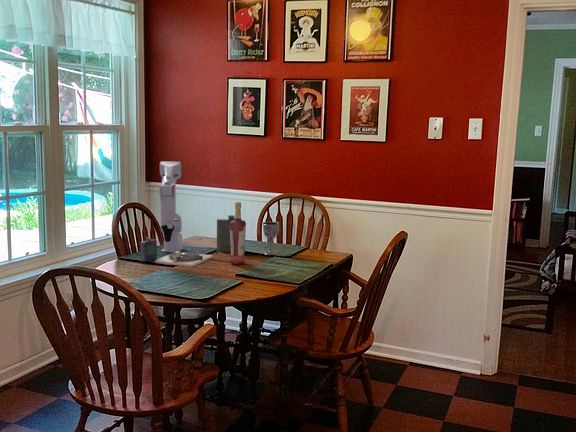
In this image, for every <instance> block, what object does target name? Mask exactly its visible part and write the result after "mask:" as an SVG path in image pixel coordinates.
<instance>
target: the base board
mask: <svg viewBox="0 0 576 432" xmlns="http://www.w3.org/2000/svg"><path fill="white" fill-rule="evenodd" d="M175 253H176V252H175ZM171 254H173V253H172V252H171ZM198 254H199V255H200V256H199V258H198V259H196V260H190V261H177V262H175V261H173V260H172V259H170V258H169V255H170V254H168V255H165V256H162V257H160V258H156V259H154V263H156V264H163V265H172V266H173V265H174V266H180V267H189V268H193V267H195V266H199V264H202V263H204V262H206V261H208V260H210V259H213V257H214V256H213V254H204V253H198Z"/></svg>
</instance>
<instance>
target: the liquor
mask: <svg viewBox="0 0 576 432" xmlns="http://www.w3.org/2000/svg"><path fill="white" fill-rule="evenodd" d="M234 208H235V211H234V212H235V213H234V216H235V217H234V219H235V220H233V221H231V222H230V241H231V252H230V259H229V262H230V263H231V264H232V265H234V266H235V265H236V266H241V265H243V264H244V263H245V262H246V259H245V253H244V248H245V249H246V232H247V231H246V226H247V223H246V221H245V220H244V219H242V211H241V210H242V209H241V208H242V202H240V201H239V202H234ZM244 221H245V222H244Z"/></svg>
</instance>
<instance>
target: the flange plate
mask: <svg viewBox="0 0 576 432" xmlns="http://www.w3.org/2000/svg"><path fill="white" fill-rule="evenodd" d="M199 254H200V253H196V252H193V251H192V252H191V251H182V250H180V251H176V253H173V254H172V253H170V254H168V255H169V258H170V259H172V260H173V261H175V262H177V261H190V260H196V259H198V258H199V256H200V255H199Z"/></svg>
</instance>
